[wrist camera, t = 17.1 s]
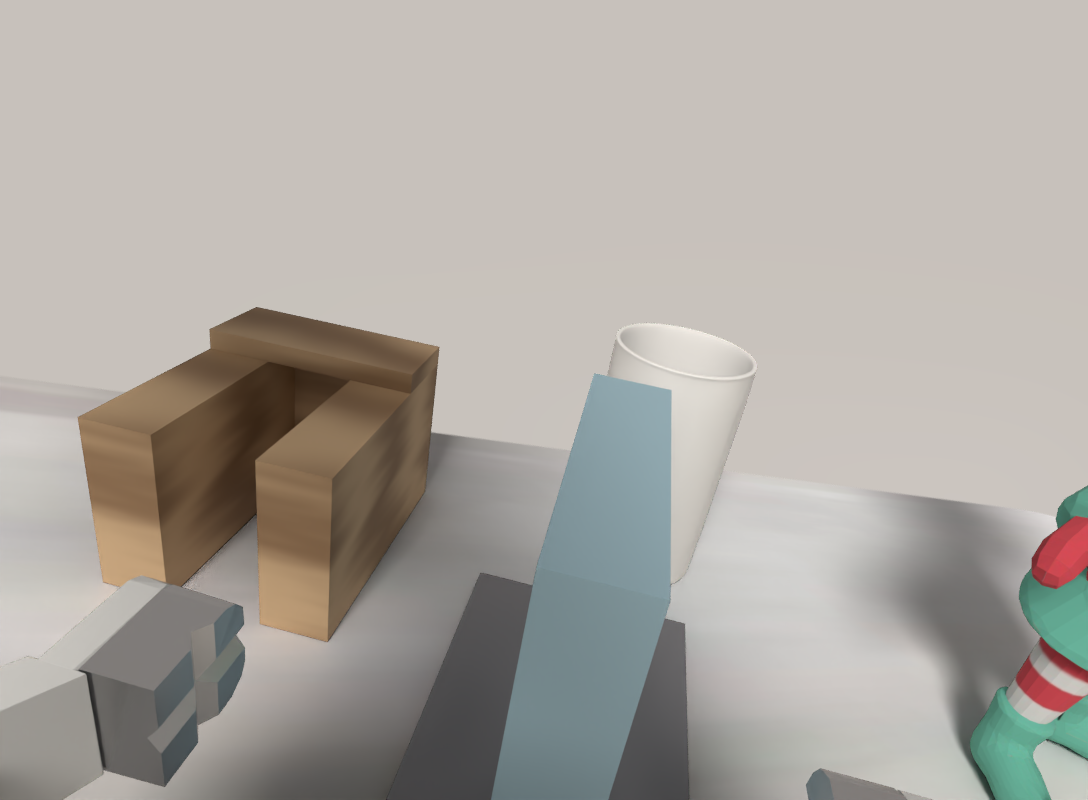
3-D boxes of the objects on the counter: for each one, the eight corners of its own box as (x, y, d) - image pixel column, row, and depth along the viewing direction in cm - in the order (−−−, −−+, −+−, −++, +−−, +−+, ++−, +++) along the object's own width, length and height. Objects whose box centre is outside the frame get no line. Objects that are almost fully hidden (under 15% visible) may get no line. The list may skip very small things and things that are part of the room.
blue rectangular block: (572, 913, 20) (670, 600, 14) (474, 884, 20) (536, 567, 15) (608, 626, 30) (671, 390, 25) (544, 610, 31) (594, 373, 26)
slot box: (327, 641, 27) (332, 455, 24) (103, 582, 28) (74, 393, 25) (424, 491, 38) (439, 346, 35) (260, 451, 39) (256, 306, 35)
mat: (689, 978, 19) (693, 971, 19) (356, 878, 20) (356, 870, 20) (682, 629, 31) (684, 623, 31) (479, 578, 32) (480, 572, 32)
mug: (701, 604, 33) (774, 389, 28) (569, 581, 33) (619, 362, 28) (677, 494, 42) (729, 317, 37) (574, 476, 42) (612, 297, 37)
